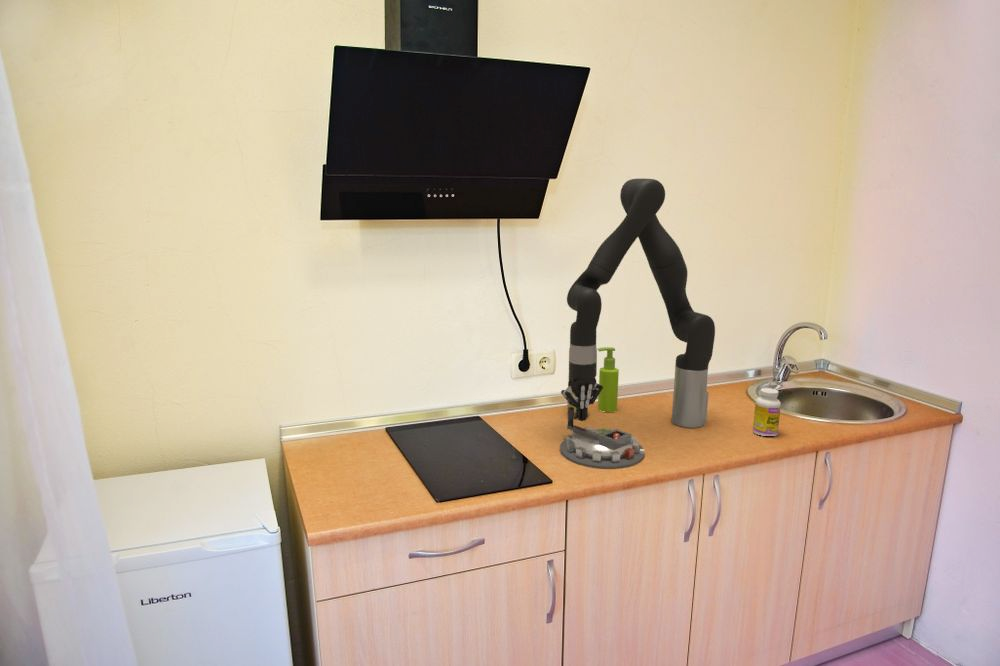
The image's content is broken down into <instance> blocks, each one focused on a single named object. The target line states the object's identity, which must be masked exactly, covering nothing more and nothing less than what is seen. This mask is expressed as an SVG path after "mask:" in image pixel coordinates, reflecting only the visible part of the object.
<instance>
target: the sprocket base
mask: <svg viewBox="0 0 1000 666" xmlns="http://www.w3.org/2000/svg"><path fill="white" fill-rule="evenodd" d="M645 450H646V449H644V448H643V445H642V444H640V443H639V450H638V453H634V457H633V458H630V459H628V458H625V457H624V458H620V461H617V462H612V461H611V460H602V459H601V462H599V461H593V458H589V457H583V458H580V457H578V456H576V452H575V451H573V452H569V451H568V450H567V445H566V438H565V439H564V440H562V441H561V443H560V445H559V451H560V454H561V456H562V457H564V458H565V459H566V460H568V461H570V462H572V463H573V464H574V463H575V464H577V465H580V466H584V467H588V468H593V469H608V470H610V469H611V470H614V469H615V470H616V469H623V468H629V467H633V466H635V465H637V464H639V463H641V462H642V461H643V460H644V458H645V452H646V451H645Z"/></svg>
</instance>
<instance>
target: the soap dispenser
mask: <svg viewBox="0 0 1000 666" xmlns="http://www.w3.org/2000/svg"><path fill="white" fill-rule="evenodd" d="M605 351H607V352H606V357H604V358H603V367H600V368H599V376H598V377H599V379H598V384H599V385H601V386H603V389H602V390H601V392H600V394H599V395H598V397H597V400H598V401H597V410H598V409H599V410H601V411H605V412H604V413H606V412H612V413H615V412H614V411H616V410H617V411H618V396H619V395H618V394H619V373H620V370H619V369H618V368H617V367H616V358H615V357H613V356H614V355H613V353H614V352H615V351H616V348H615V347H610V346H607V347H606V346H604V347H599V348H597V352H605ZM599 410H598V411H599ZM601 411H600V412H601ZM617 411H616V412H617Z"/></svg>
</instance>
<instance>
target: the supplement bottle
mask: <svg viewBox="0 0 1000 666" xmlns="http://www.w3.org/2000/svg"><path fill="white" fill-rule="evenodd" d="M759 394H760V396H759V397H757V398H756V399H755V404H754V405H755V406H754V412H753V413H754V414H753V416H754V417H753V425H752V432H753V433H754V434H755V435H757V434H758V435H757V436H759V435H761V436H760V437H763V436H774V437H777V436H778V434H779V425H780V418H781V417H780V415H781V410H782V409H781V408H782V407H781V406H782V403H781V401H780V399H778V396H779V390H777V389H775V388H770V387H762V388H761V389H760V392H759Z"/></svg>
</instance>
